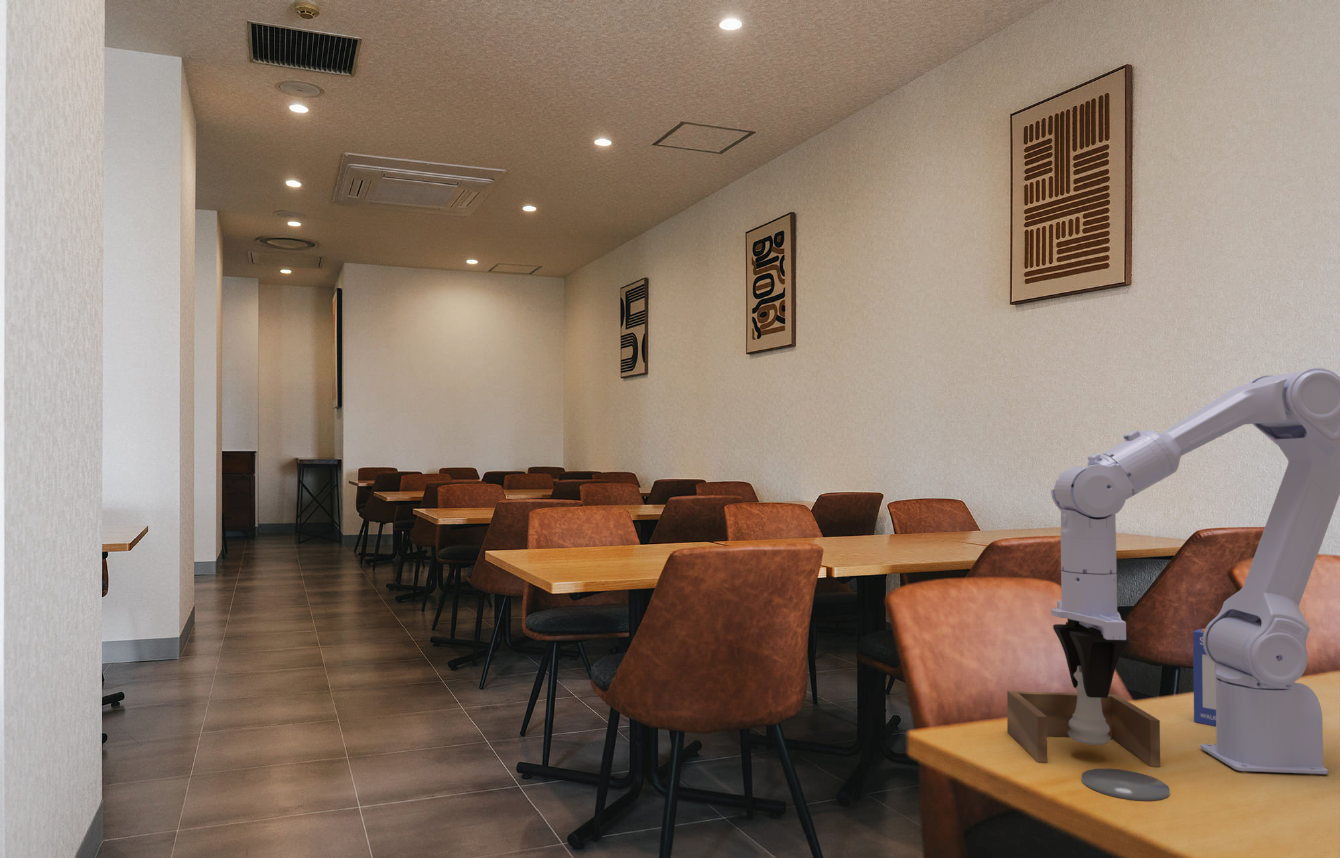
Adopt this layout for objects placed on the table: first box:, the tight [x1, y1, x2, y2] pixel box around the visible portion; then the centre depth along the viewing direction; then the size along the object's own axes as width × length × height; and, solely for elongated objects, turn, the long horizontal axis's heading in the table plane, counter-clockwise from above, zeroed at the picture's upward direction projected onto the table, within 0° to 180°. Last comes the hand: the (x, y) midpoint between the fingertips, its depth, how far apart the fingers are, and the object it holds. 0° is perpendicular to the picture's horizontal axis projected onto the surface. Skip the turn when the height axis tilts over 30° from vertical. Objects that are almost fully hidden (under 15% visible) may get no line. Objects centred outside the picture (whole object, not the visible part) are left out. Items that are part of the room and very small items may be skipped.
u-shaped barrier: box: [1006, 690, 1161, 768], centre depth 102 cm, size 13×11×5 cm
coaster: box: [1081, 768, 1170, 802], centre depth 90 cm, size 8×8×1 cm
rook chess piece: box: [1067, 666, 1112, 746], centre depth 99 cm, size 4×4×8 cm
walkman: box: [1192, 628, 1216, 727], centre depth 112 cm, size 8×3×12 cm, turn 44°
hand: (1090, 692), depth 99 cm, fingers closed on rook chess piece, 3 cm apart
